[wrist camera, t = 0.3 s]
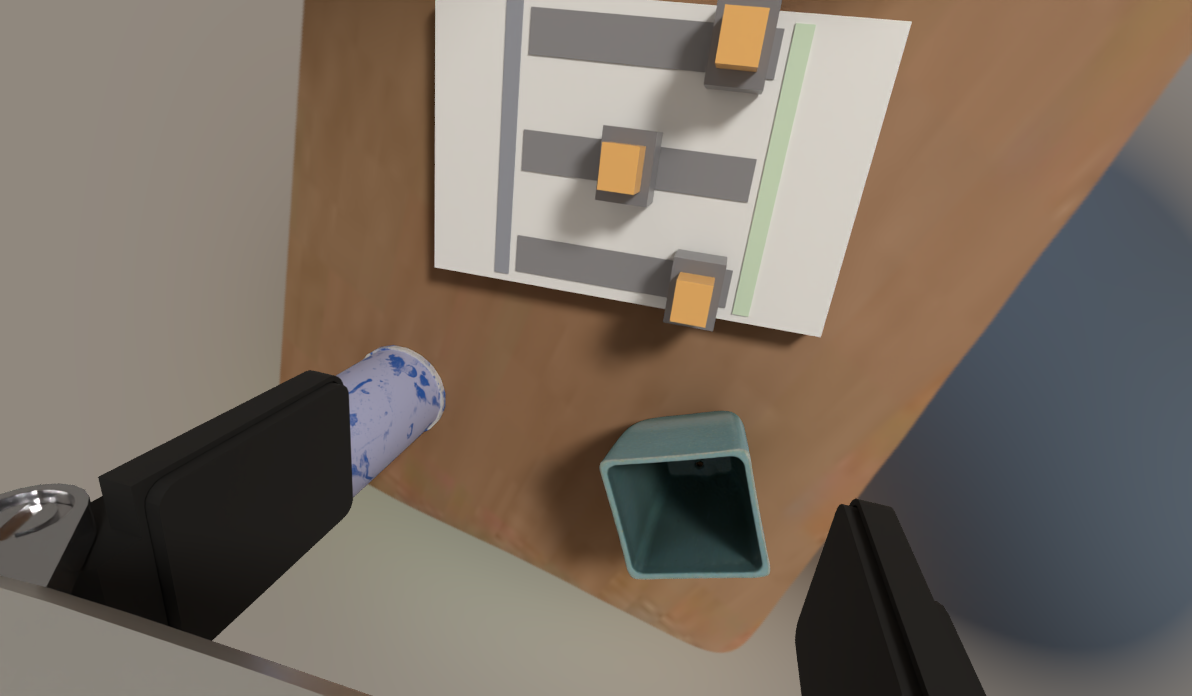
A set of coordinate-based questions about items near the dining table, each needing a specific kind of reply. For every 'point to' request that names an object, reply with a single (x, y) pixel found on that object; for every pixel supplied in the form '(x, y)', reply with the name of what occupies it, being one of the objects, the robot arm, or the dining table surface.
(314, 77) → the dining table surface
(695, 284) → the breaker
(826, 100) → the panel
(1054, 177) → the dining table surface
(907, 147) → the dining table surface
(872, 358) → the dining table surface
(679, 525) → the flower pot
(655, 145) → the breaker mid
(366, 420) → the aerosol can
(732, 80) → the block
